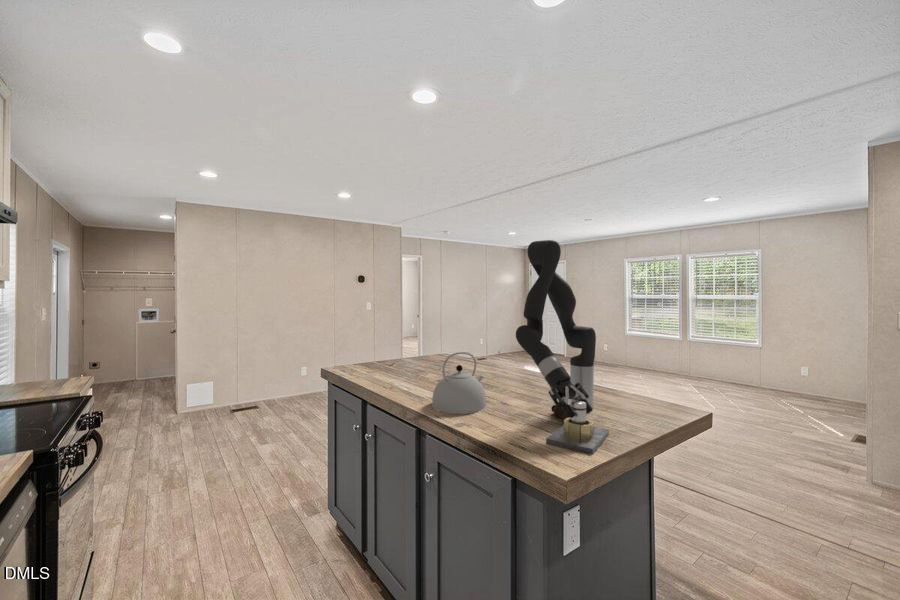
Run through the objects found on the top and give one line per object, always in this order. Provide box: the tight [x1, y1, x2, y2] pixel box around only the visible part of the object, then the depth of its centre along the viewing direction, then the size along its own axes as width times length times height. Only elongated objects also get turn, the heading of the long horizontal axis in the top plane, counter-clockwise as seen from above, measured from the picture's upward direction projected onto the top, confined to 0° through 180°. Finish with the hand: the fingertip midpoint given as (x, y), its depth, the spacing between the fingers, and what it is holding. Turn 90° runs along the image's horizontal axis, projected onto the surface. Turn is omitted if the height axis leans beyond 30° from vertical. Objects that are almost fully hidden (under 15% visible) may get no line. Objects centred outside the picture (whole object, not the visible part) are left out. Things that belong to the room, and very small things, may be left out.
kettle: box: [431, 351, 487, 415], centre depth 162 cm, size 25×23×23 cm
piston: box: [571, 401, 587, 425], centre depth 124 cm, size 5×5×10 cm
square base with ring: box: [545, 418, 610, 455], centre depth 124 cm, size 20×14×6 cm
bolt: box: [550, 404, 570, 421], centre depth 144 cm, size 6×5×15 cm
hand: (582, 414), depth 123 cm, fingers open, 8 cm apart
